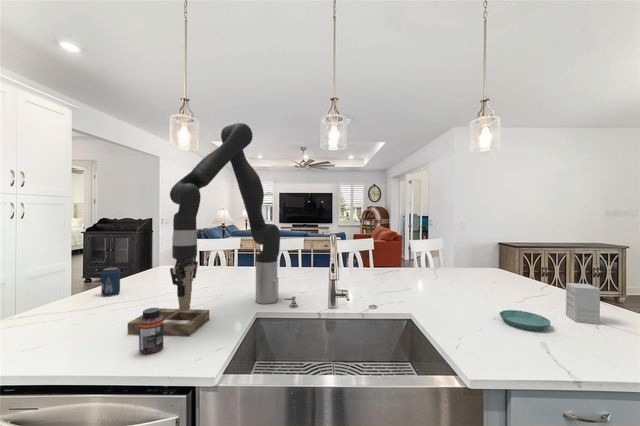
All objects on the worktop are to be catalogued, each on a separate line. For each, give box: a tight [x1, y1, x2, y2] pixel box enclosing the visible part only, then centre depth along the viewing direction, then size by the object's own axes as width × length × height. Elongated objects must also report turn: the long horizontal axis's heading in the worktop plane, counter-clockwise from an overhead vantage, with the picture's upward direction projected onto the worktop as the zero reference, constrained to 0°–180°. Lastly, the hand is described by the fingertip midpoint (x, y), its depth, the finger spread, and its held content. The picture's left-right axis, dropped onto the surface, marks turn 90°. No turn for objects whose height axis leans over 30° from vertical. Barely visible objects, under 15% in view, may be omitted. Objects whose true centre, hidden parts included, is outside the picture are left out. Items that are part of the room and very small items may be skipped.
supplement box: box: [565, 282, 601, 325], centre depth 108 cm, size 7×7×13 cm
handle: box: [173, 264, 195, 311], centre depth 99 cm, size 5×6×15 cm
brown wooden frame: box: [127, 307, 210, 337], centre depth 99 cm, size 20×14×4 cm
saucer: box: [498, 309, 551, 331], centre depth 104 cm, size 15×15×3 cm
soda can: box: [100, 266, 121, 297], centre depth 135 cm, size 7×7×12 cm
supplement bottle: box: [138, 307, 164, 355], centre depth 83 cm, size 6×6×11 cm
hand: (184, 294), depth 99 cm, fingers closed on handle, 4 cm apart
